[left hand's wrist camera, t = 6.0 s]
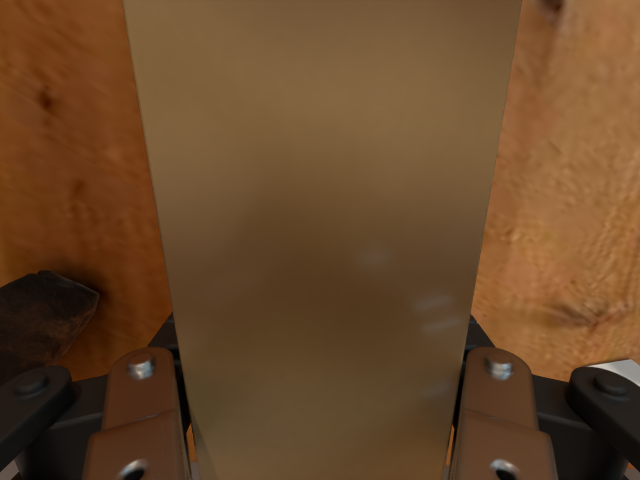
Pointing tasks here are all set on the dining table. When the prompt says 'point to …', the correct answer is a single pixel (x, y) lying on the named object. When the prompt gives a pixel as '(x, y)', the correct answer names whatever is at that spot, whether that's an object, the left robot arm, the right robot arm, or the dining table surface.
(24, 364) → the decorative rock
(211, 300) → the box
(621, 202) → the dining table surface
